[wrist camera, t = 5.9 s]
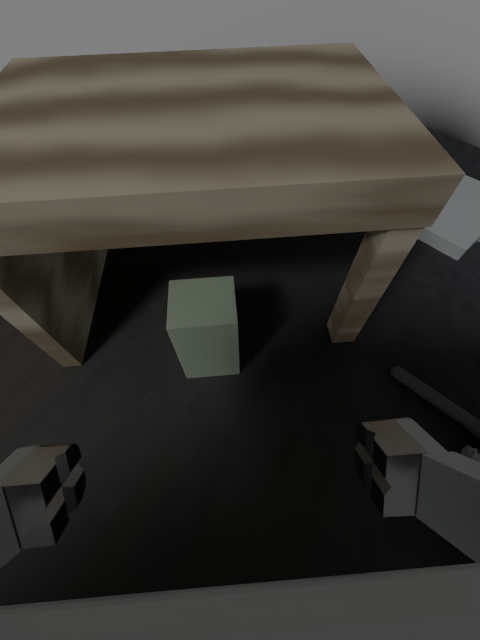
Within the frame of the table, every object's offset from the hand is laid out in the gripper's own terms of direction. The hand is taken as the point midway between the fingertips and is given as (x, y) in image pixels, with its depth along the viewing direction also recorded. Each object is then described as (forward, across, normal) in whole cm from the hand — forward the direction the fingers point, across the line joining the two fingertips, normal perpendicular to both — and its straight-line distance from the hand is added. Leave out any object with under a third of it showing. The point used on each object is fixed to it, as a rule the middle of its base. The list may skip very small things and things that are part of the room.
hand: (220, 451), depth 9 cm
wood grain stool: (+24, -1, +3) cm, 24 cm away
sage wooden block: (+18, -1, -3) cm, 18 cm away
